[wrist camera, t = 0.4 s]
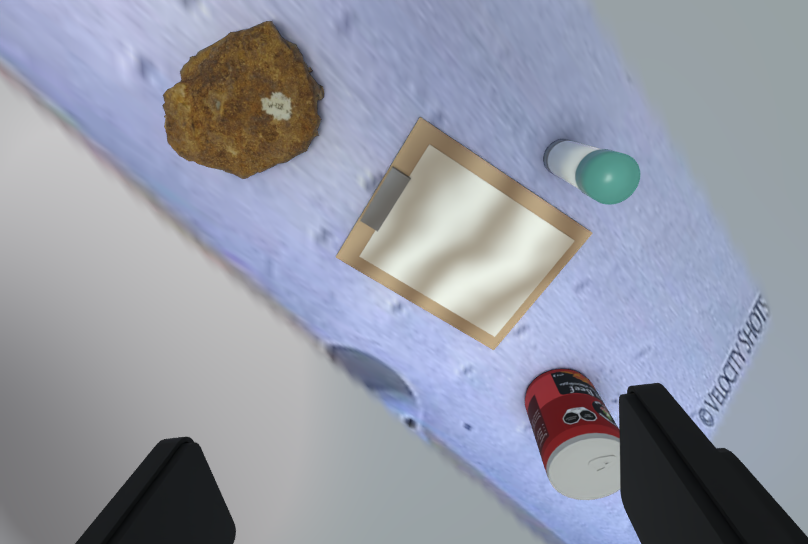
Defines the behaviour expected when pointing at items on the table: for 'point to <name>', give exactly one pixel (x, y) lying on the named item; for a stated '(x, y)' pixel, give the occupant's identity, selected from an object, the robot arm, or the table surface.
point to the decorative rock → (244, 103)
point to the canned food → (574, 435)
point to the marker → (593, 170)
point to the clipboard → (460, 237)
